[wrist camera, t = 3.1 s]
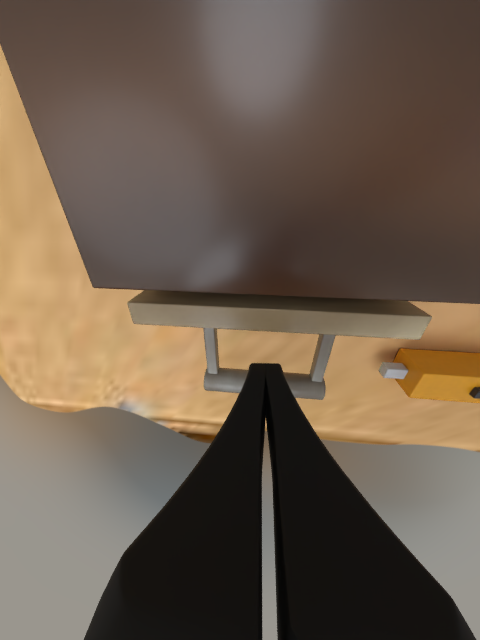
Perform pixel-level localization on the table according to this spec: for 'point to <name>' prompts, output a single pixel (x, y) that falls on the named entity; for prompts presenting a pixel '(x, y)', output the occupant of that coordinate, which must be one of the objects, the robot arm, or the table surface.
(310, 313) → the drawer
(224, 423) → the robot arm
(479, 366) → the box cutter
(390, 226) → the cabinet
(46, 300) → the table surface
